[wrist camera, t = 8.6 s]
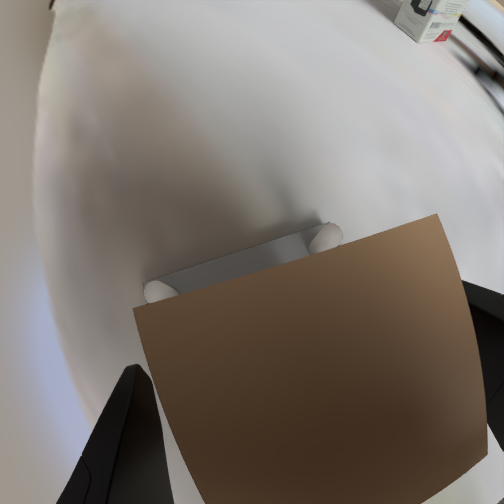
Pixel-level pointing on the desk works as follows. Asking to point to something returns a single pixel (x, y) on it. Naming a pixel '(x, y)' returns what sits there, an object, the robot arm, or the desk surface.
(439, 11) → the ink box
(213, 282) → the peg plate
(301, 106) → the desk surface
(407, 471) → the walnut block
